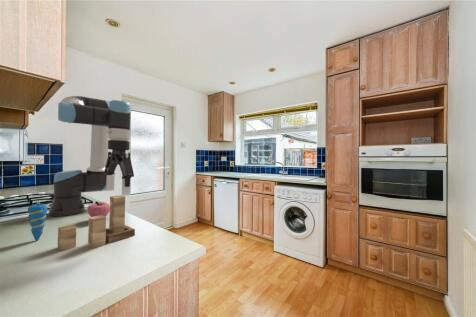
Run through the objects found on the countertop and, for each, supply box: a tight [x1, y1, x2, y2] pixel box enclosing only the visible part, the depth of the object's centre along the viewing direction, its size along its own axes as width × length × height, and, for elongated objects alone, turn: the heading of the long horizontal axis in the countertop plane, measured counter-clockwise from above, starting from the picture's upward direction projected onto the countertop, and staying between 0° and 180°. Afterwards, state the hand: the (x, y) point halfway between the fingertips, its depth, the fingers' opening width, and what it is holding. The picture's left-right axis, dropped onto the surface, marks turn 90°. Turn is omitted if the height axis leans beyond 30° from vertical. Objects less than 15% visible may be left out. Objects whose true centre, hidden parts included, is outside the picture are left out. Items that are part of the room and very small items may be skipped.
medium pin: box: [87, 215, 107, 250], centre depth 72 cm, size 4×4×10 cm
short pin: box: [57, 224, 77, 252], centre depth 69 cm, size 4×4×7 cm
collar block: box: [105, 224, 136, 244], centre depth 80 cm, size 10×10×2 cm
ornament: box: [27, 200, 48, 242], centre depth 74 cm, size 5×5×15 cm
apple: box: [87, 201, 110, 218], centre depth 98 cm, size 10×9×10 cm
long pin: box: [108, 194, 126, 234], centre depth 80 cm, size 4×4×16 cm
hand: (117, 192), depth 80 cm, fingers open, 13 cm apart
